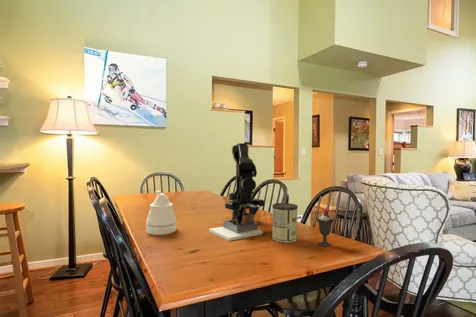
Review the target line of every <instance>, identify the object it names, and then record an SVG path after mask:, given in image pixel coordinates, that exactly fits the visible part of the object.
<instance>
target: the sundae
mask: <svg viewBox="0 0 476 317" xmlns="http://www.w3.org/2000/svg"><path fill="white" fill-rule="evenodd" d="M327 209H328V207H327V206H326V207H325V209H324V211H323V212H322V213H321V215H320V216H318V217H316V221H317V222H318V232H319V233H320V234H321V235H322V241H320V242H317V245H318V246H321V247H327V248H328V247H331V246H332V244H331V243H329V242H328V241H327V237H328V236H329V235H330V234H331V231H332V225H333V222H334V221H335V219H334V218H333V217H332V216H331V214H330V212H329V211H328V210H327Z"/></svg>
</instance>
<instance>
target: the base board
mask: <svg viewBox="0 0 476 317" xmlns="http://www.w3.org/2000/svg"><path fill="white" fill-rule="evenodd" d="M208 232H209V233H211V234H212V235H216V236H217V237H219V238H221V239H224V240H226V241H228V242H229V241H236V240H240V239H246V238H250V237H256V236H260V235H263V234H264V231H263V230H260V229H259V228H258V229H256V230H251V231H246V232H241V233H236V232H233V231H231V230H228V229H226V228H224V227H223V226H219V227H213V228H209V229H208Z"/></svg>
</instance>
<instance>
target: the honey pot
mask: <svg viewBox="0 0 476 317" xmlns="http://www.w3.org/2000/svg"><path fill="white" fill-rule="evenodd" d="M155 194H156V197H155V198H154V200H153V202H152V203H150V204H149V207H150V209H149V211H148V215H147V218H146V221H145V222H146V226H145V229H146V230H145V232H146V233H147V234H148V235H155V236H159V235H168V234H169V235H170V234H172V233H174V232H176V231H177V218H176V215H175V213H174V212H175V211H174V209H173V206H174V203H172V202H170V200H169V198H168V196H167V195H166V194H165V193H162V190H155Z"/></svg>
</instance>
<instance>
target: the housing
mask: <svg viewBox="0 0 476 317" xmlns="http://www.w3.org/2000/svg"><path fill="white" fill-rule="evenodd" d="M222 222H223V223H222V224H223V226H222V227H224V228H226V229H228V230H231V231H233V232H236V233H241V232H246V231H251V230H256V229H258V230H259V228H258V227H259V226H258V224H259V223H258V222H256V221H254V222H253V223H247V224H241V225H236V219H226V220H223V221H222Z"/></svg>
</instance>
